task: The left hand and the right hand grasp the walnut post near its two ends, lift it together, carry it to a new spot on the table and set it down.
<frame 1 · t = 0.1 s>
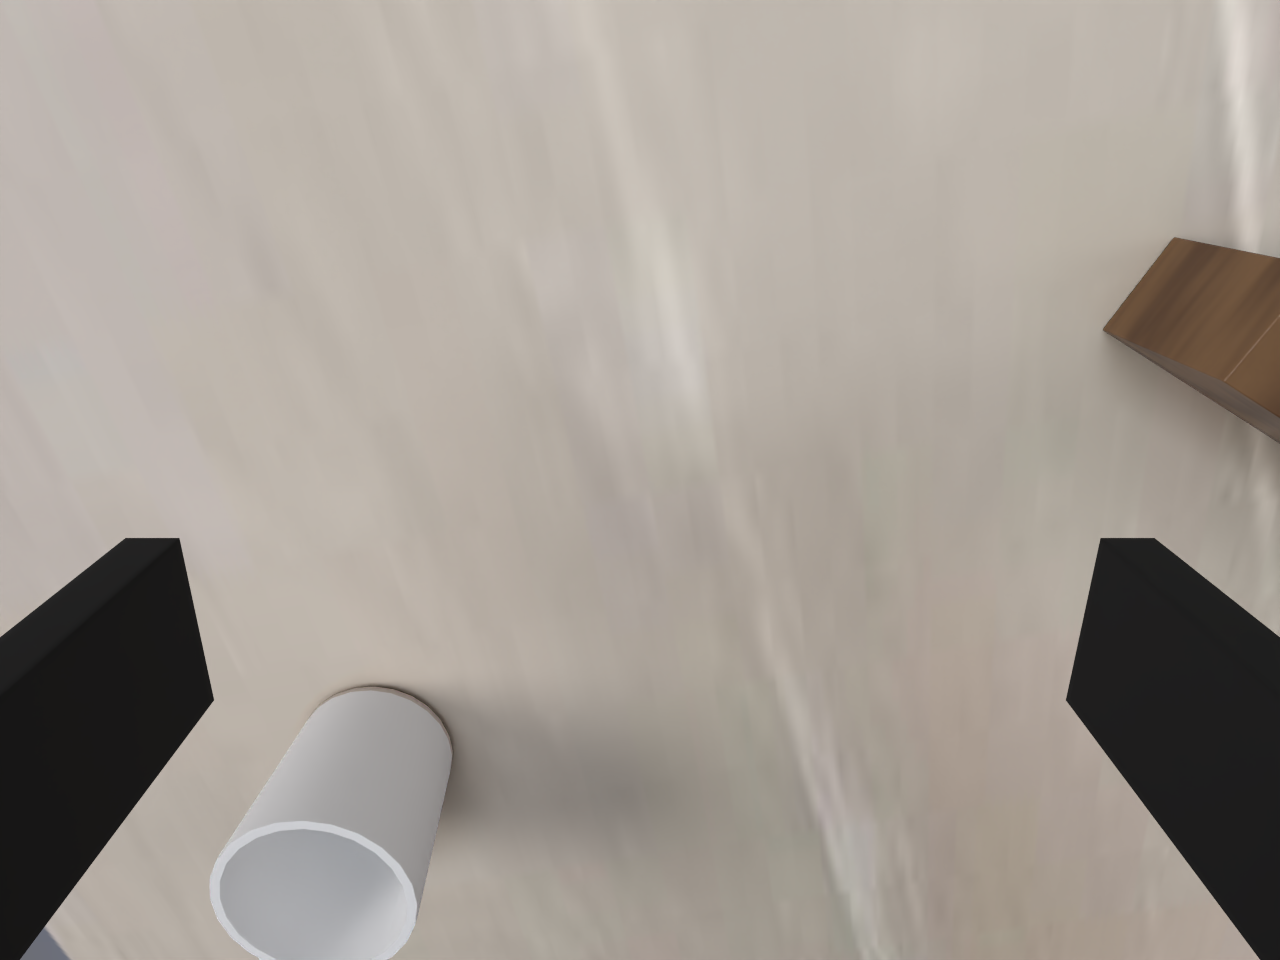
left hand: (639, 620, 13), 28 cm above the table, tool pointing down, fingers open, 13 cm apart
mug: (372, 757, 48), on the table
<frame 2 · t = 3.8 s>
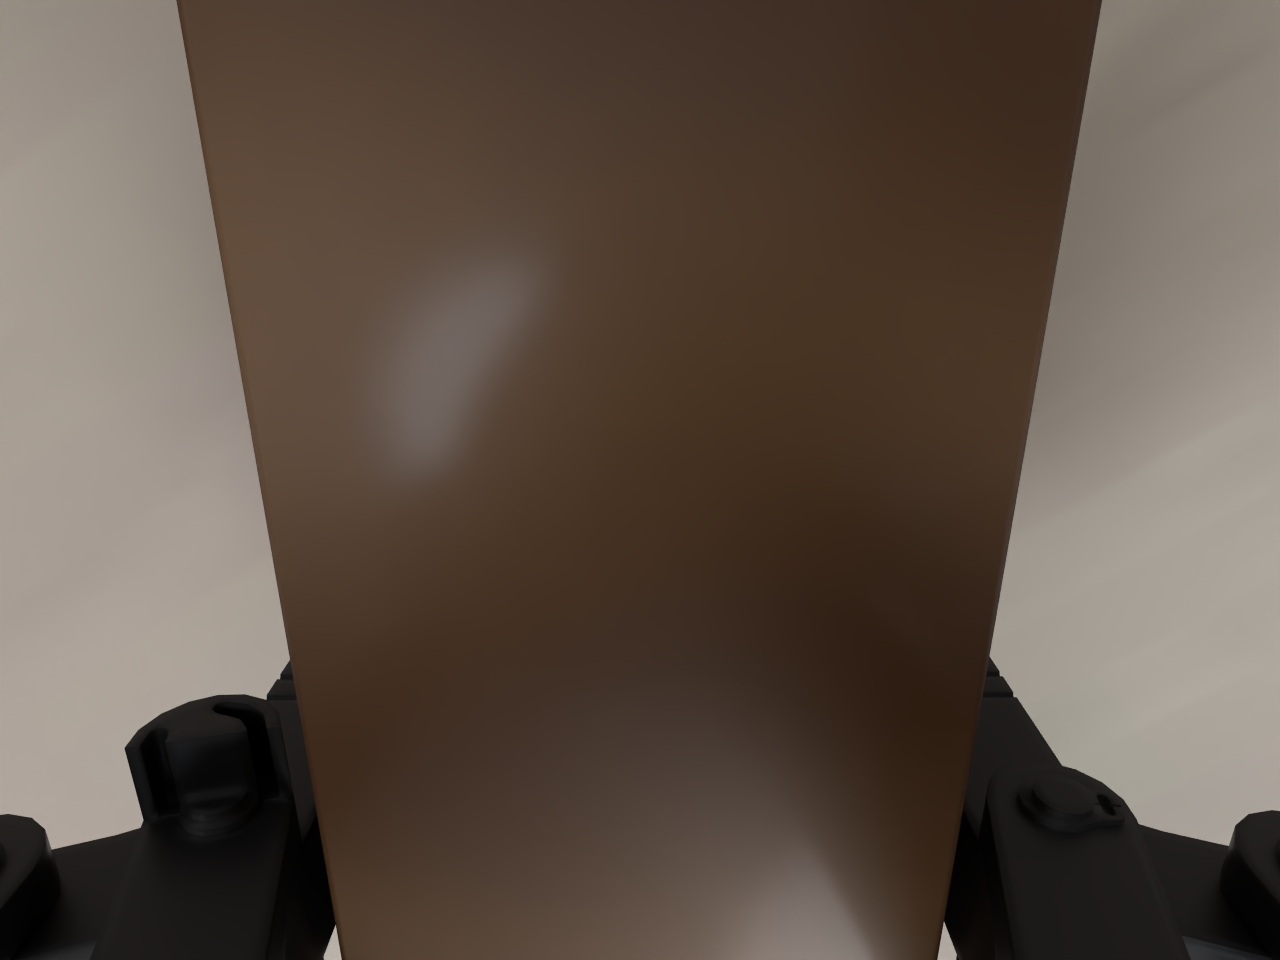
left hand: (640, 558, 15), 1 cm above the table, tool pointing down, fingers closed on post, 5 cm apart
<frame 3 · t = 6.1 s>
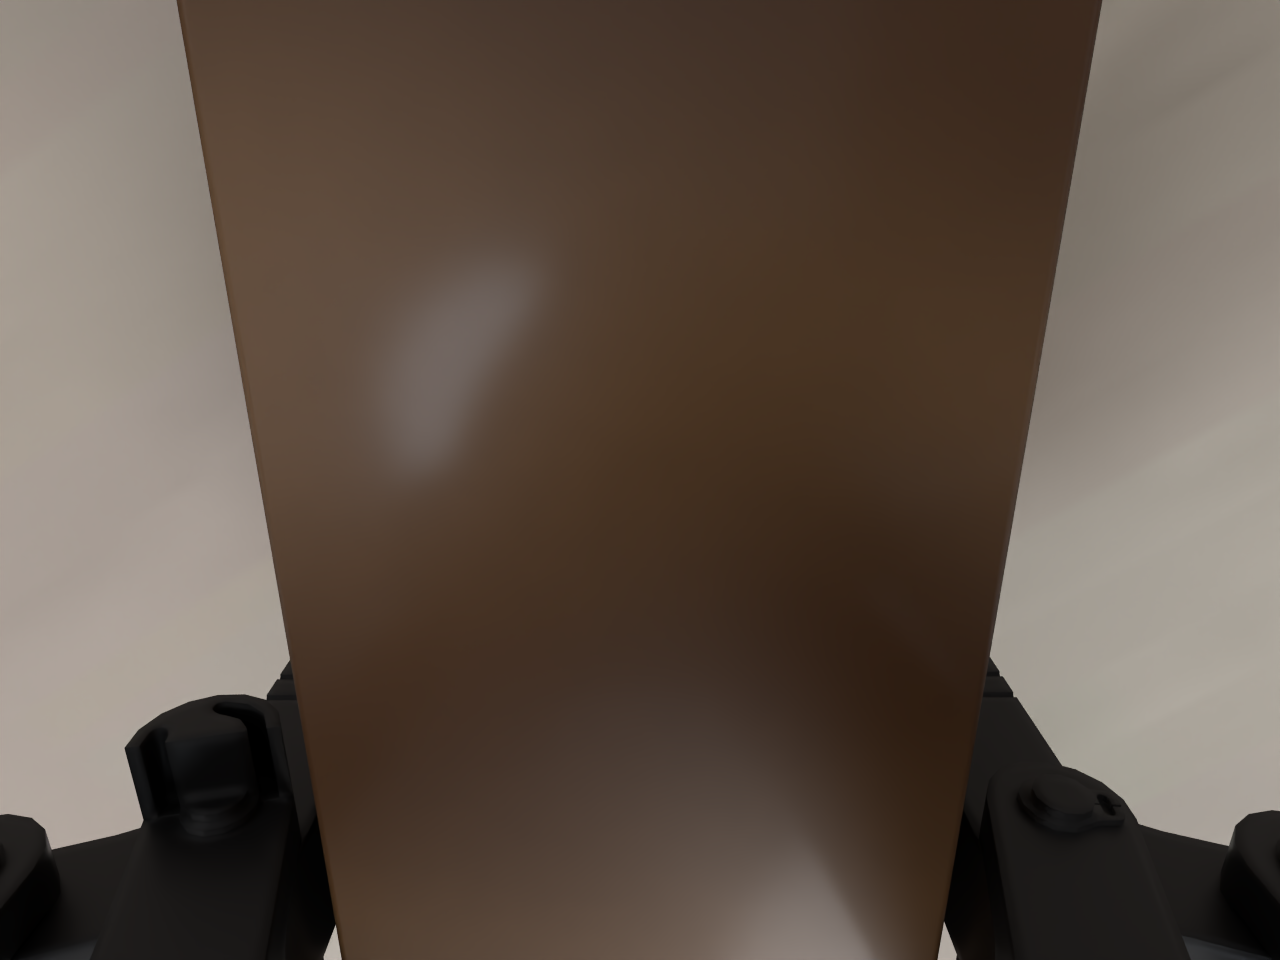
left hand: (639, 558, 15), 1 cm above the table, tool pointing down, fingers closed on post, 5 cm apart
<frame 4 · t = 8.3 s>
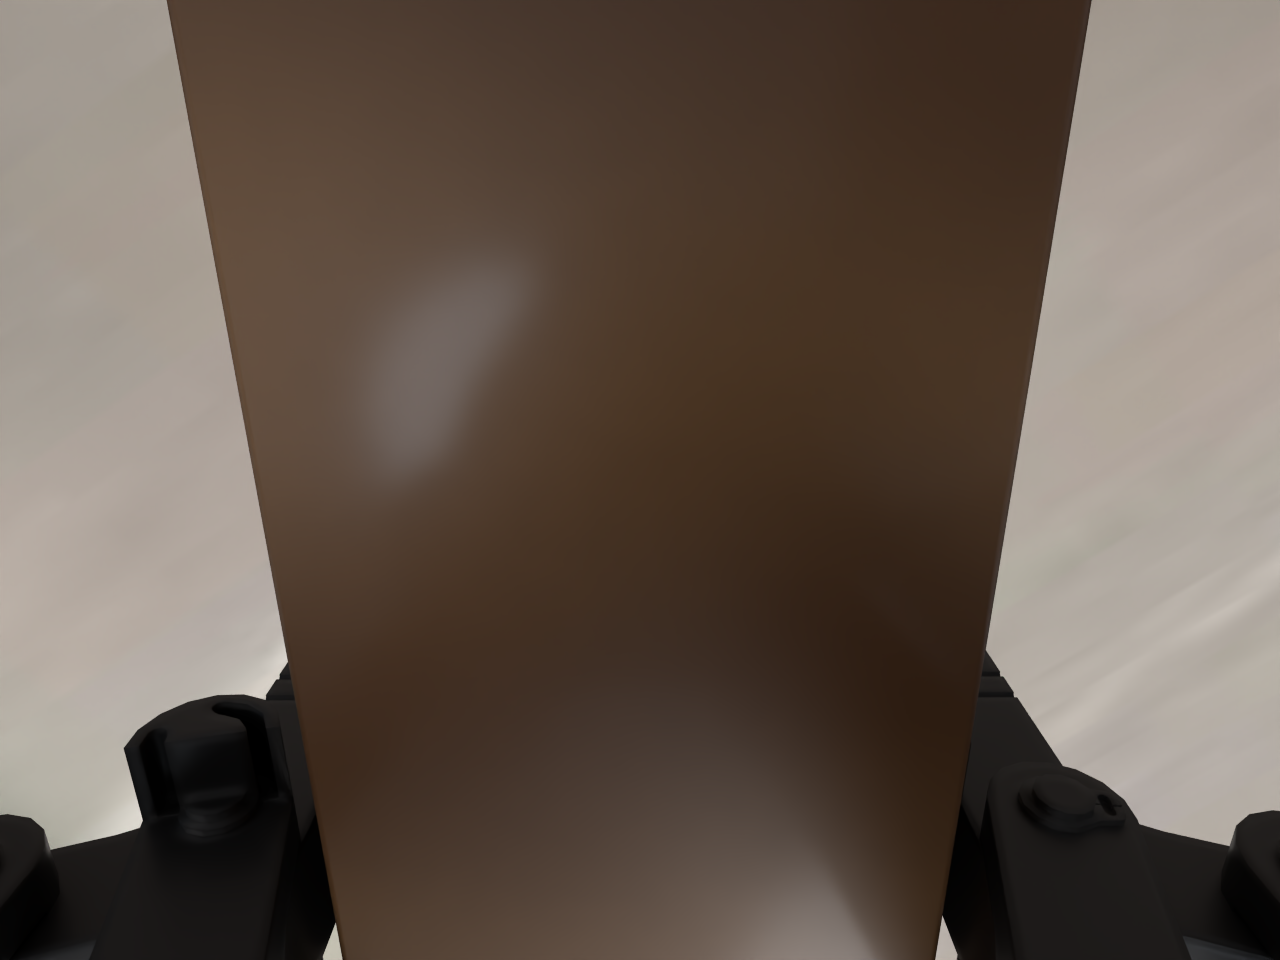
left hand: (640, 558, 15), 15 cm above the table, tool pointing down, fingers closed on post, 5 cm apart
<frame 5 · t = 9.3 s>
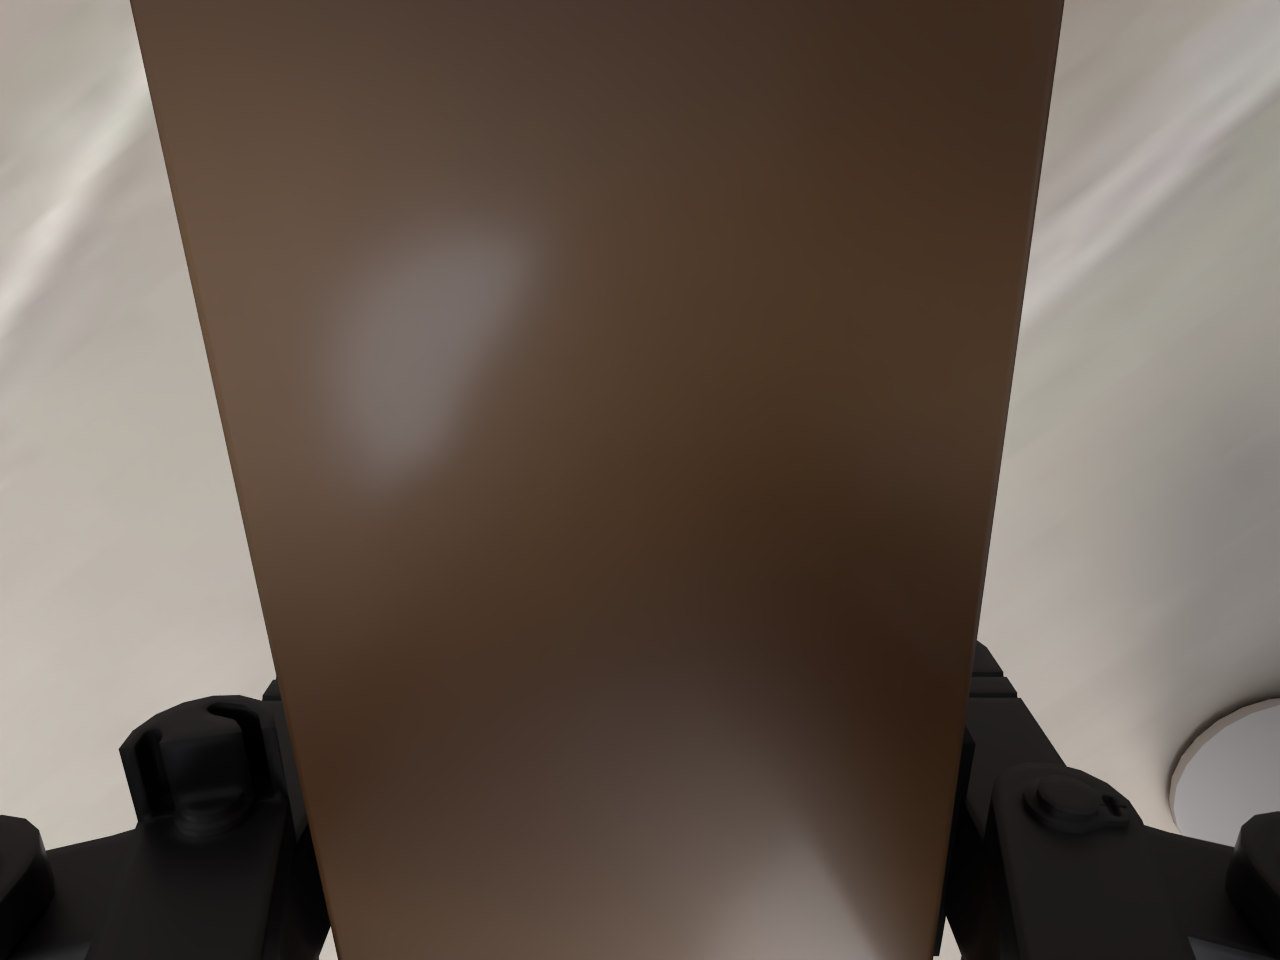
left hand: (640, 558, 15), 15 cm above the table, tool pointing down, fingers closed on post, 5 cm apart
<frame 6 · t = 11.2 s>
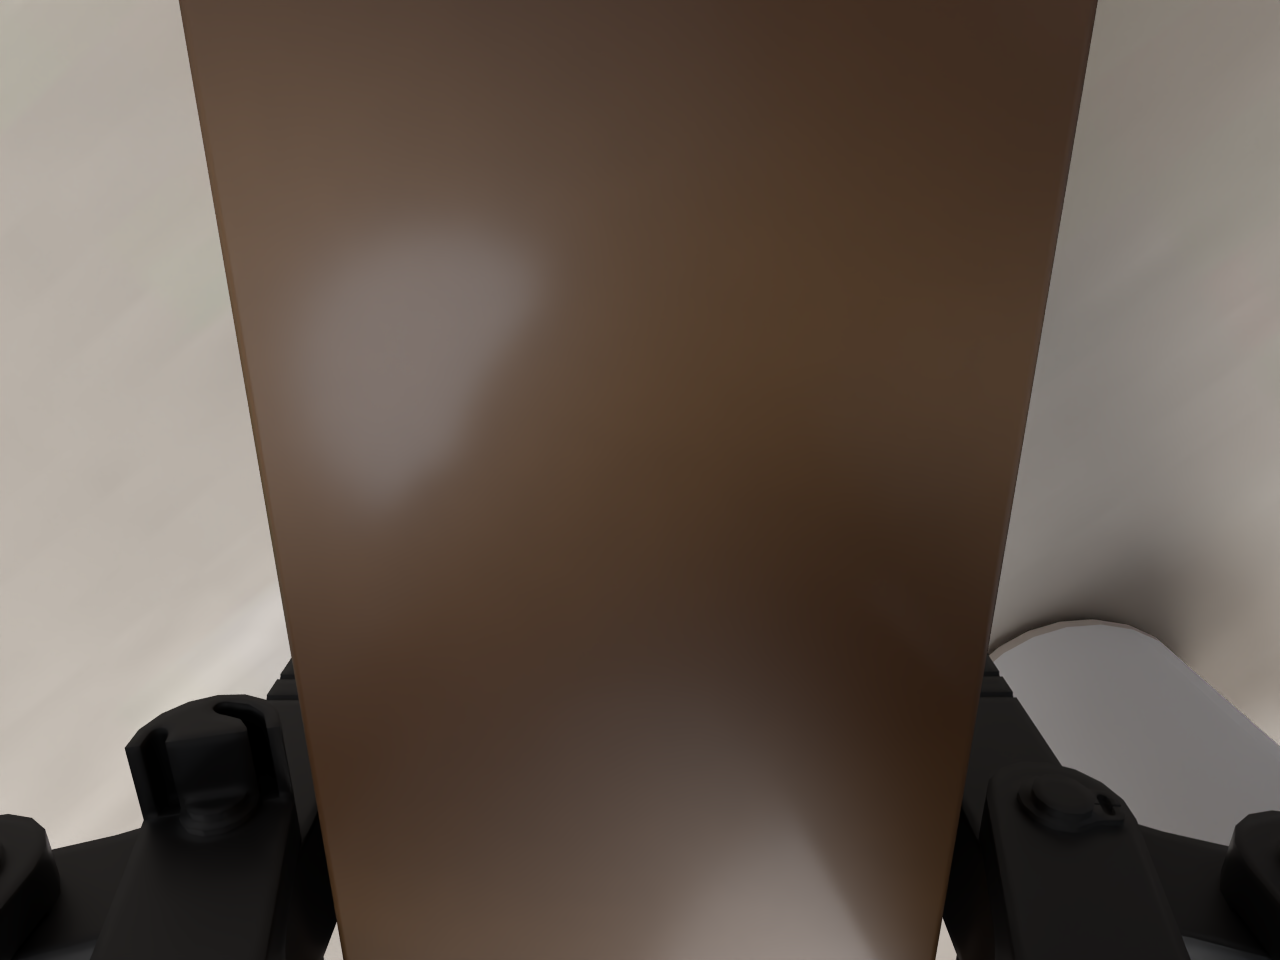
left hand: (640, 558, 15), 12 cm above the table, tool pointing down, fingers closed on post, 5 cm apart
mug: (1092, 717, 30), on the table
when the left hand's fingers open (2 cm above the table, at t = 12.7 s): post drops 1 cm, on the table.
when the right hand's fingers open (2 cm above the table, at t = 12.7 s): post drops 1 cm, on the table.
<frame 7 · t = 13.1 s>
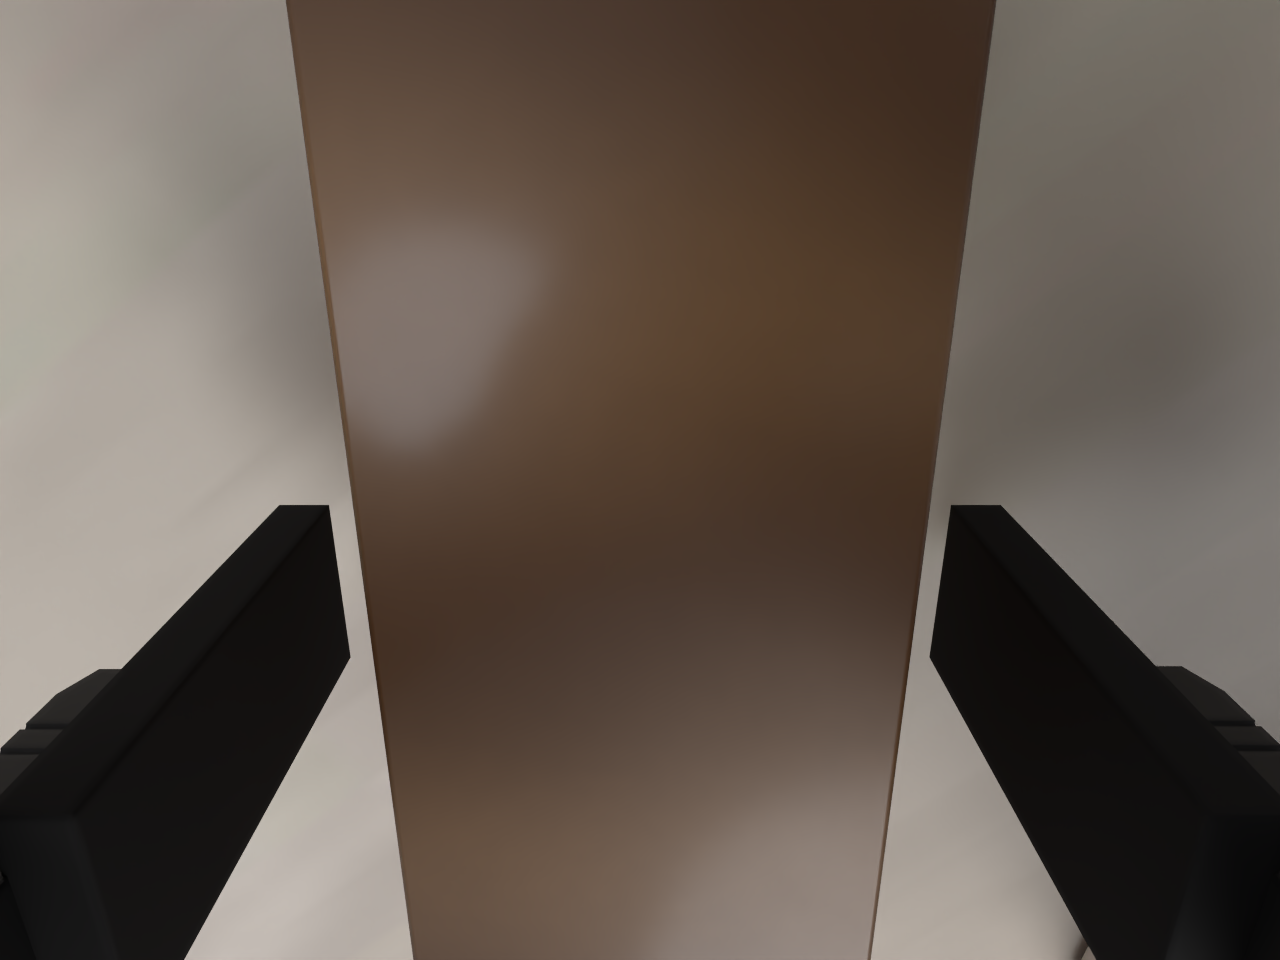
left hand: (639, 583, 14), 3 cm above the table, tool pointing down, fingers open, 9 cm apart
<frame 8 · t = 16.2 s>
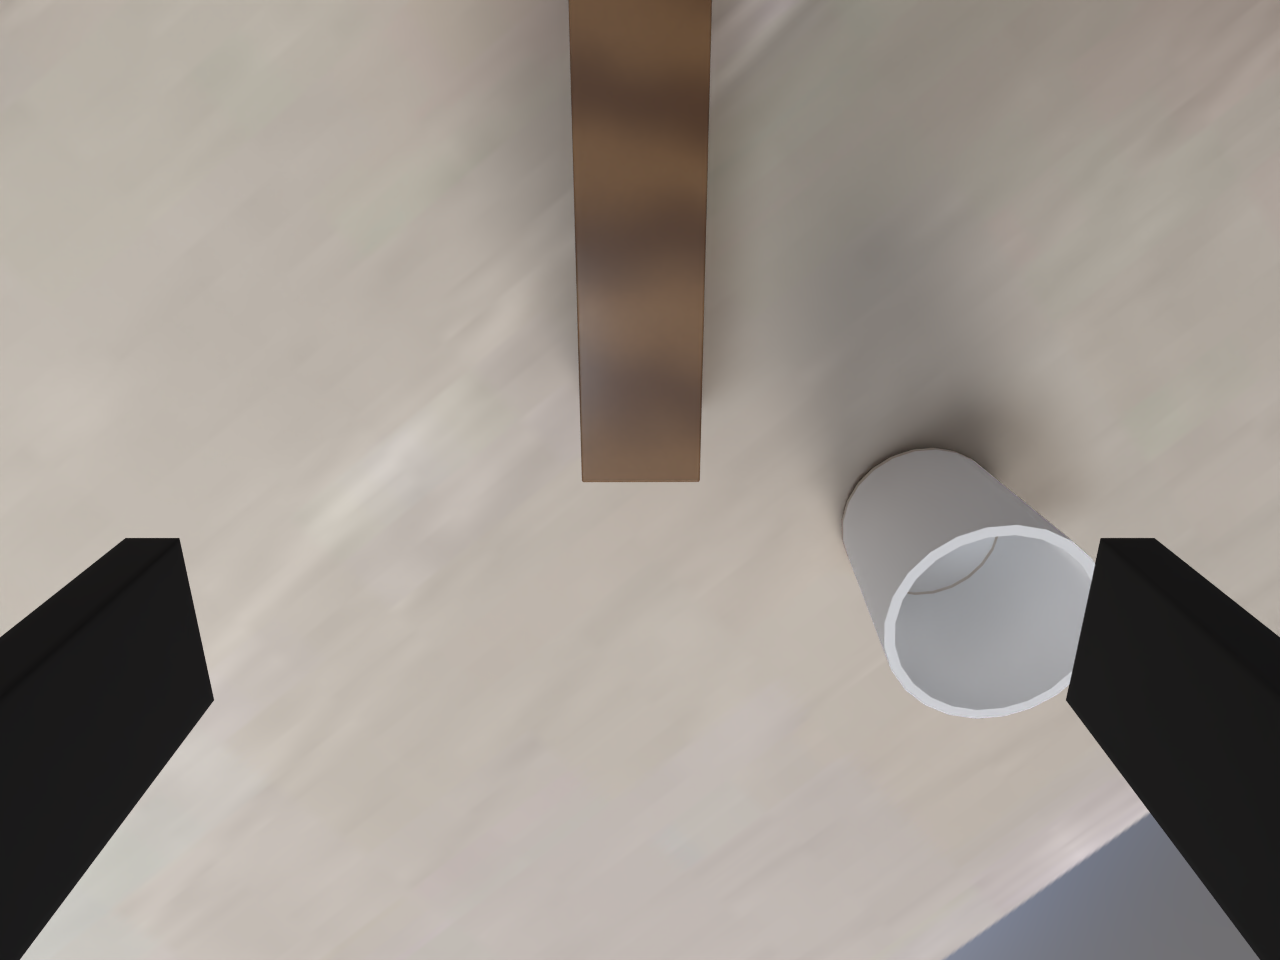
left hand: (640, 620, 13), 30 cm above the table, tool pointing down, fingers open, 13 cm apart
mug: (938, 519, 45), on the table
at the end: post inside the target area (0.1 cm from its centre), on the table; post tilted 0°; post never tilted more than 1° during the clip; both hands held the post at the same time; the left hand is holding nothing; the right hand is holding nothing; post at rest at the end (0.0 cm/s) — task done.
